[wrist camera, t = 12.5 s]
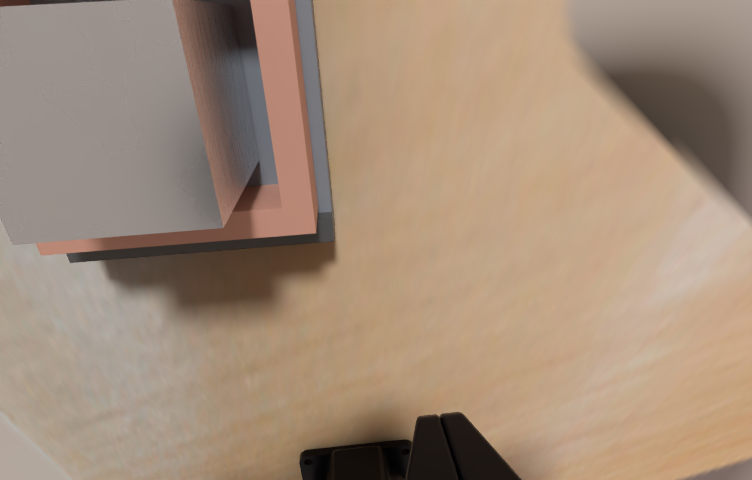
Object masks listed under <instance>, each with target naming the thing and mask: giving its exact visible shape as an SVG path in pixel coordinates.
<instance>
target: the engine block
mask: <svg viewBox="0 0 752 480" xmlns="http://www.w3.org/2000/svg"><path fill="white" fill-rule="evenodd" d="M258 161H259V154H258V148H257V142H256V136H255V130H254V125H253V119H252V113H251V107H250V101H249V95H248V90H247V84H246V78H245V72H244V66H243V60H242V55H241V49H240V43H239V37H238V31H237V26H236V20H235V14H234V8H233V6H231V5H224V4H216V3H208V2H201V1H193V0H118V1H99V2H80V3H61V4H42V5H23V6H4V7H0V219H1V221H2V223H3V225H4V227H5V229H6V231H7V233H8V236H9V238H10V240H11V242H12V244H13V245H18V244H30V243H43V242H55V241H68V240H80V239H93V238H105V237H118V236H130V235H143V234H155V233H167V232H180V231H192V230H205V229H217V228H224V226H225V224H226V222H227V220H228V218H229V216H230V215H231V213H232V211H233V209H234V207H235V205H236V203H237V201H238V199H239V197H240V196H241V194H242V192H243V190H244V188H245V186H246V184H247V182H248V180H249V178H250V177H251V175H252V173H253V171H254V169H255V167H256V165H257V163H258Z"/></svg>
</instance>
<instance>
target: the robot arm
mask: <svg viewBox="0 0 752 480" xmlns="http://www.w3.org/2000/svg"><path fill="white" fill-rule="evenodd" d="M300 468H301V473H302V479H303V480H522V479H521V478H520V477H519V476H518V475H517V474H516V473H515V472H514V470H513V469H512V468H511V467H510V466H509V465H508V464H507V463H506V462H505V460H504V459H503V458H502V457H501V456H500V455H499V454H498V453H497V451H496V450H495V449H494V448H493V447H492V446H491V445H490V444H489V442H488V441H487V440H486V439H485V438H484V437H483V436H482V435H481V433H480V432H479V431H478V430H477V429H476V428H475V427H474V426H473V424H472V423H471V422H470V421H469V420H468V419H467V418H466V417H465V415H464V414H462V413H460V412H453V413H444V414H441V415H440V417H439V416H438V415H435V414H434V415H424V416H419V417H418V418H417V420H416V425H415V431H414V436H413V442H411V441H409V440H398V441H388V442H379V443H370V444H360V445H351V446H341V447H332V448H323V449H313V450H306V451H304V452H302V453H301V454H300Z"/></svg>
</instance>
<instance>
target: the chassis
mask: <svg viewBox="0 0 752 480" xmlns="http://www.w3.org/2000/svg"><path fill="white" fill-rule="evenodd" d="M99 1H118V0H0V7H4V6H23V5H42V4H61V3H80V2H99ZM193 1H201V2H208V3H216V4H224V5H231V6H233V8H234V14H235V20H236V26H237V31H238V37H239V43H240V49H241V55H242V60H243V66H244V72H245V78H246V84H247V90H248V95H249V101H250V107H251V113H252V119H253V125H254V130H255V136H256V142H257V148H258V154H259V161H258V163H257V165H256V167H255V169H254V171H253V173H252V175H251V177H250V178H249V180H248V182H247V184H246V186H245V188H244V190H243V192H242V194H241V196H240V197H239V199H238V201H237V203H236V205H235V207H234V209H233V211H232V213H231V215H230V216H229V218H228V220H227V222H226V224H225V226H224V228H217V229H205V230H192V231H180V232H167V233H155V234H143V235H130V236H118V237H105V238H93V239H80V240H68V241H55V242H43V243H36V245H37V247H38V249H39V252H40V254H41V255H52V254H65V253H66V254H67V256H68V259H69V261H70V263H74V262H86V261H99V260H111V259H123V258H135V257H148V256H160V255H172V254H185V253H197V252H209V251H221V250H234V249H246V248H258V247H271V246H283V245H295V244H307V243H320V242H332V241H334V239H335V223H334V213H333V203H332V193H331V182H330V172H329V162H328V152H327V142H326V132H325V122H324V112H323V102H322V91H321V81H320V71H319V61H318V51H317V41H316V31H315V21H314V11H313V1H312V0H193Z"/></svg>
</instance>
